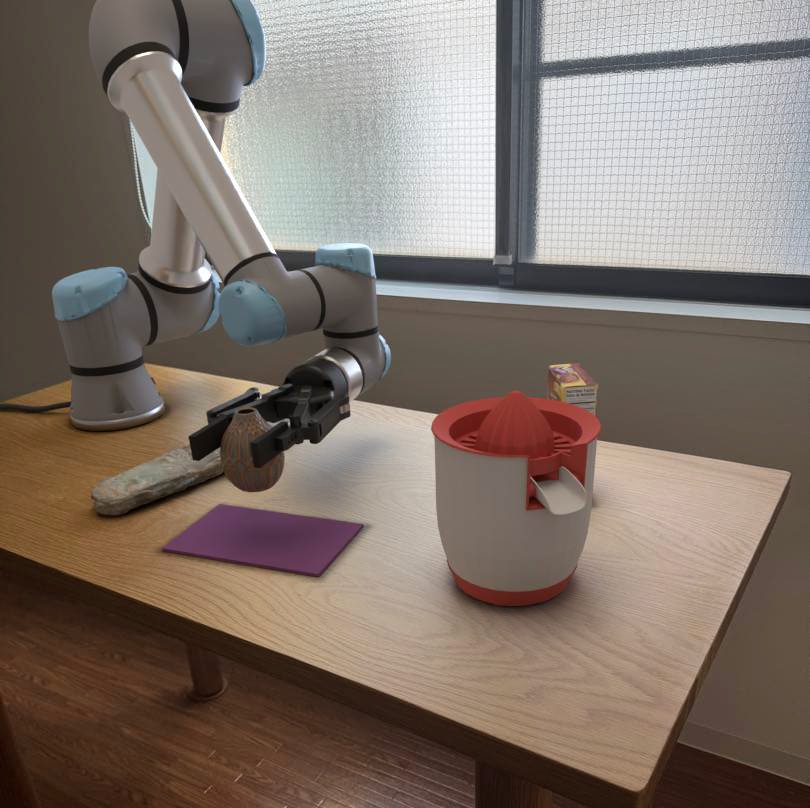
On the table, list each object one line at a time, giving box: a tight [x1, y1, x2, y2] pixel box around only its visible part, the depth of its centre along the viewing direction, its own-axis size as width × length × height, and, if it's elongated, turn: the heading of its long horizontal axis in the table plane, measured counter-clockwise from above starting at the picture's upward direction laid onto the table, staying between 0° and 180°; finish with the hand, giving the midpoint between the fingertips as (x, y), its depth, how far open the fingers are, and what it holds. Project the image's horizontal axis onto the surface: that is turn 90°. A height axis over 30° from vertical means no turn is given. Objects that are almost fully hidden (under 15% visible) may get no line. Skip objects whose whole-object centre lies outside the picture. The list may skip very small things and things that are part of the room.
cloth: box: [161, 503, 365, 578], centre depth 89 cm, size 20×12×1 cm, turn 69°
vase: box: [220, 407, 285, 494], centre depth 84 cm, size 7×7×9 cm
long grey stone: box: [90, 419, 290, 517], centre depth 107 cm, size 35×5×10 cm
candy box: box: [547, 363, 599, 417], centre depth 93 cm, size 9×4×15 cm, turn 2°
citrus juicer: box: [430, 390, 602, 607], centre depth 74 cm, size 16×17×20 cm
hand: (224, 451), depth 79 cm, fingers closed on vase, 7 cm apart
